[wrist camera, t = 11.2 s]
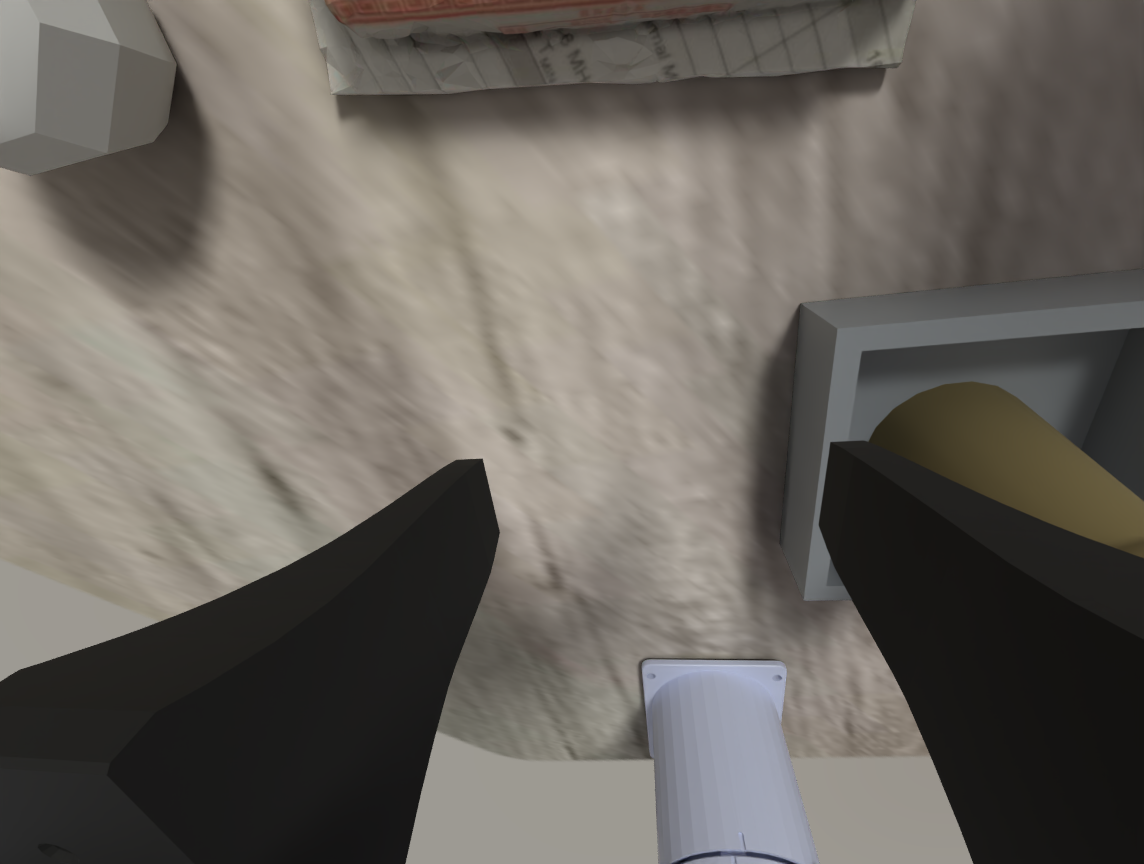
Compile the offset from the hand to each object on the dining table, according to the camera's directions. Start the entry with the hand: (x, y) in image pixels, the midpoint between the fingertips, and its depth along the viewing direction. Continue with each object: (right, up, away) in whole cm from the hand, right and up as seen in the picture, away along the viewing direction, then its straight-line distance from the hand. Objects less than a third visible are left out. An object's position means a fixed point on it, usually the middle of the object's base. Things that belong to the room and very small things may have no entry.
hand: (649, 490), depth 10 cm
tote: (+13, +1, +9) cm, 16 cm away
